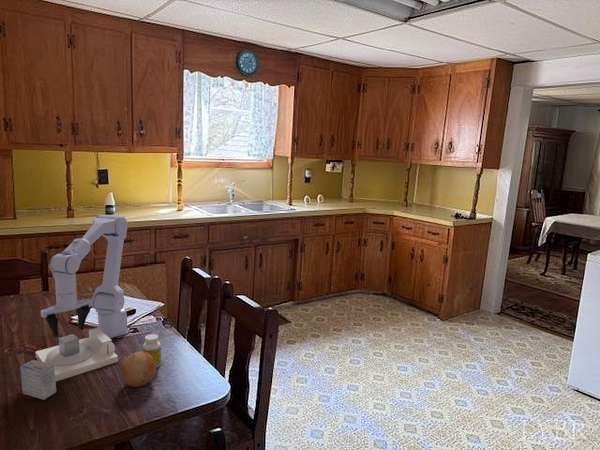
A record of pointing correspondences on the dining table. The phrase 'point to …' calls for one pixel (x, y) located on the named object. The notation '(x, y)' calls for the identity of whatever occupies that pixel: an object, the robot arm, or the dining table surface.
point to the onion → (138, 369)
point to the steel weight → (69, 345)
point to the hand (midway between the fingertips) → (68, 332)
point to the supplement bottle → (153, 348)
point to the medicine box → (38, 379)
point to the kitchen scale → (81, 356)
